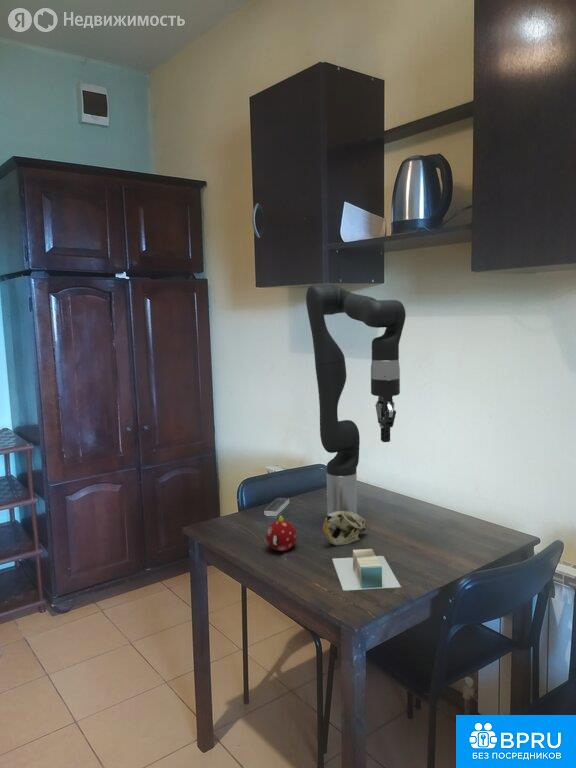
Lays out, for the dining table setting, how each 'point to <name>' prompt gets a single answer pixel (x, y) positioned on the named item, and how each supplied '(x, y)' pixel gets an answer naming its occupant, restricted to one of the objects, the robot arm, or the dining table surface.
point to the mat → (350, 579)
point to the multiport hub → (276, 507)
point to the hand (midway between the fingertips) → (385, 441)
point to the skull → (344, 527)
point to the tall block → (367, 568)
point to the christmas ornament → (281, 535)
